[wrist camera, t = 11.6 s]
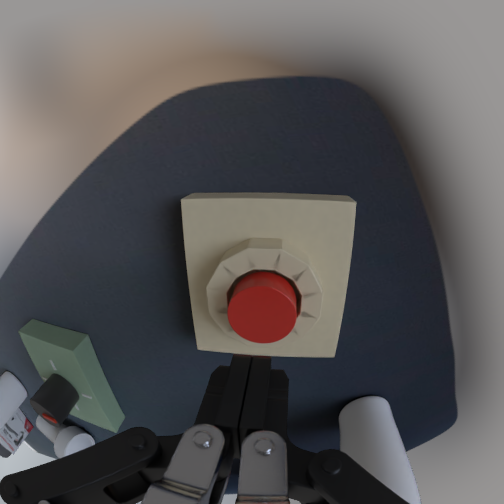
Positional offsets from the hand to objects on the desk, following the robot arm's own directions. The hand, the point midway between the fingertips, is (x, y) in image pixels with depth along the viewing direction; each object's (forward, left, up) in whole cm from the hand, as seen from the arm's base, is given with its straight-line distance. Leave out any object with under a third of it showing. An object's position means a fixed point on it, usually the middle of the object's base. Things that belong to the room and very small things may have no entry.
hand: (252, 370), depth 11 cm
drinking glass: (+15, +10, -9) cm, 20 cm away
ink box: (+44, -60, -9) cm, 75 cm away
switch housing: (0, 0, -9) cm, 9 cm away
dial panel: (+15, -23, -9) cm, 29 cm away
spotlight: (+33, -34, -9) cm, 48 cm away
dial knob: (+15, -23, -6) cm, 28 cm away
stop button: (0, 0, -6) cm, 6 cm away
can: (+27, -47, -9) cm, 55 cm away
